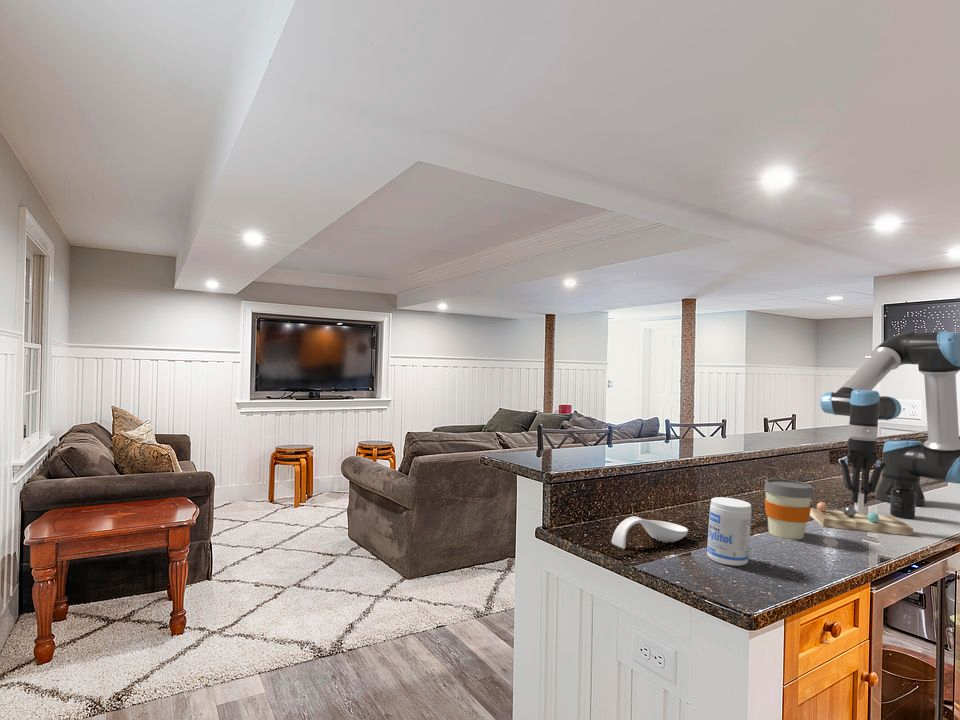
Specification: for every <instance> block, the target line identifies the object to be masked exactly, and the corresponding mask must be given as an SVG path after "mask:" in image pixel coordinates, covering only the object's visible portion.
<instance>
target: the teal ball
mask: <svg viewBox="0 0 960 720" xmlns="http://www.w3.org/2000/svg"><path fill="white" fill-rule="evenodd" d="M867 514H868V515H867V519H868V520H869V521H870V522H873V523H875V522H877V521H878V520H879V516H878V515H879V514H877V513H875V512H873V511H872V512H869V513H867Z"/></svg>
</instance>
